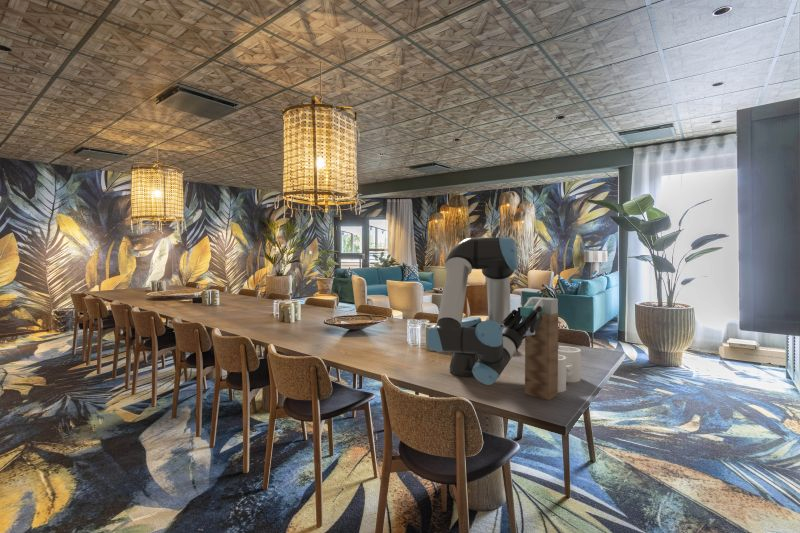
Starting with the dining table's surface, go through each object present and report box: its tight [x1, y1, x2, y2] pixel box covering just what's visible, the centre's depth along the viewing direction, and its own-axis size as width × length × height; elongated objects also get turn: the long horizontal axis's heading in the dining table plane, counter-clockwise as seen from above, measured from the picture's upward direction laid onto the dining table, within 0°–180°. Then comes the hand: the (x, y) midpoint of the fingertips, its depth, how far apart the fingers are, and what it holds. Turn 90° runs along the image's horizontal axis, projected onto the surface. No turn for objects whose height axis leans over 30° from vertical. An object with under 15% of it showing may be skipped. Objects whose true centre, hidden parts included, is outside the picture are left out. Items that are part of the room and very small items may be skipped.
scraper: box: [519, 296, 559, 317], centre depth 139 cm, size 9×16×5 cm, turn 134°
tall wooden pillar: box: [524, 312, 559, 401], centre depth 143 cm, size 9×7×30 cm
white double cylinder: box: [558, 345, 582, 393], centre depth 156 cm, size 25×10×12 cm, turn 139°
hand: (536, 301), depth 140 cm, fingers closed on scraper, 3 cm apart
